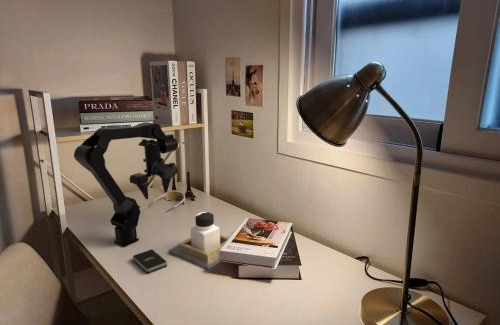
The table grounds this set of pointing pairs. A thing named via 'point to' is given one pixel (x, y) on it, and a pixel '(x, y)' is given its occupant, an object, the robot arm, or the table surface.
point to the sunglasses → (173, 197)
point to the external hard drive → (149, 261)
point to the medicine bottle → (205, 232)
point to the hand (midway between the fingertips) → (156, 195)
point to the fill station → (198, 253)
